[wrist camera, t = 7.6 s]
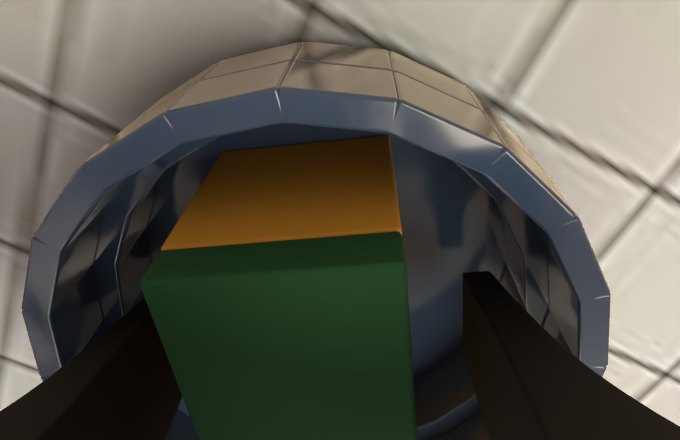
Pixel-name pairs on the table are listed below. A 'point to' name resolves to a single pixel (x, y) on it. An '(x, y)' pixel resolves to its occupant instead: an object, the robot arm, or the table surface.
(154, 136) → the bowl
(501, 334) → the robot arm
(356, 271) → the sponge
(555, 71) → the table surface
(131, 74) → the table surface
